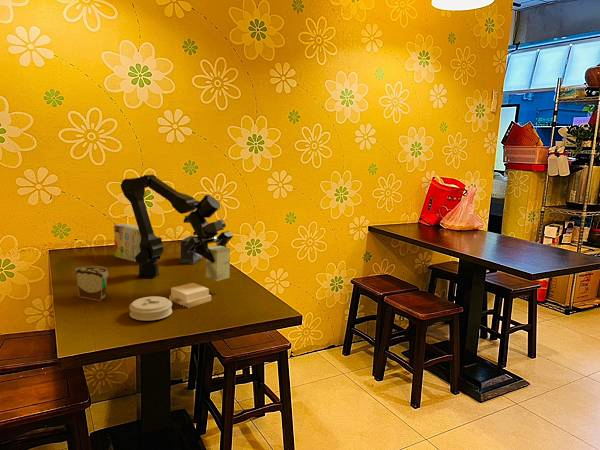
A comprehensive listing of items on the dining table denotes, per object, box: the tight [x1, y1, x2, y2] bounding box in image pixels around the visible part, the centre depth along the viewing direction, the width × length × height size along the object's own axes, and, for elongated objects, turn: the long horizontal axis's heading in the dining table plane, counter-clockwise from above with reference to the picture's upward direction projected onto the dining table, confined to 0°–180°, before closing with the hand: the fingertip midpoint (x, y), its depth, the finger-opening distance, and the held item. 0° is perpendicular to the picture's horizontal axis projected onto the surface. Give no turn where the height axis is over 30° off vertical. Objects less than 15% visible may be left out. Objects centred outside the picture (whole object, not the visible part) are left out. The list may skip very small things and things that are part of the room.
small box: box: [180, 235, 204, 265], centre depth 204 cm, size 11×6×10 cm, turn 168°
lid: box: [129, 295, 173, 321], centre depth 142 cm, size 13×13×5 cm
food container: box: [74, 265, 110, 302], centre depth 155 cm, size 12×6×10 cm, turn 71°
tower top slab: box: [170, 282, 210, 302], centre depth 155 cm, size 9×9×2 cm
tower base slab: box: [168, 294, 212, 309], centre depth 156 cm, size 10×10×2 cm
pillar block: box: [205, 245, 231, 282], centre depth 164 cm, size 6×6×11 cm
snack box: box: [113, 223, 155, 263], centre depth 202 cm, size 21×6×15 cm, turn 58°
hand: (220, 260), depth 163 cm, fingers closed on pillar block, 6 cm apart
